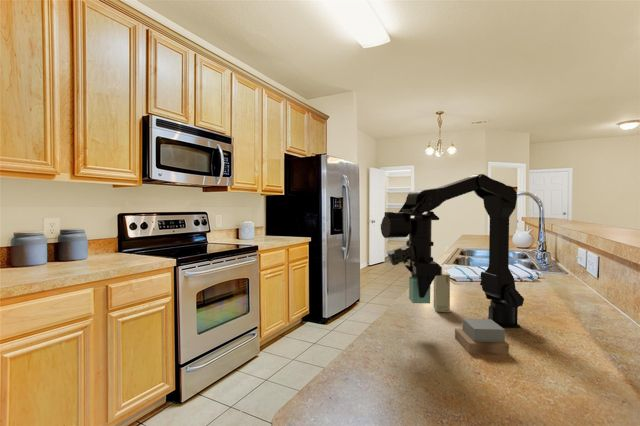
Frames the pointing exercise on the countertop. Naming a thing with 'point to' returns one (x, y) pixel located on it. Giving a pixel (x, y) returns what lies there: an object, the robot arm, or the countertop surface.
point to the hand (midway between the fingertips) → (419, 295)
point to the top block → (483, 330)
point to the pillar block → (417, 292)
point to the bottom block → (480, 345)
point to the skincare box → (442, 292)
